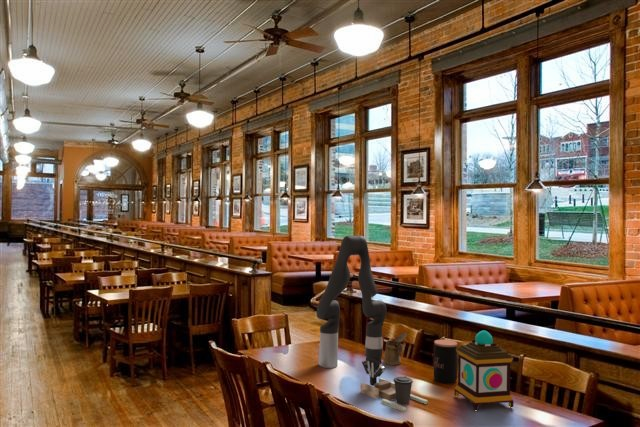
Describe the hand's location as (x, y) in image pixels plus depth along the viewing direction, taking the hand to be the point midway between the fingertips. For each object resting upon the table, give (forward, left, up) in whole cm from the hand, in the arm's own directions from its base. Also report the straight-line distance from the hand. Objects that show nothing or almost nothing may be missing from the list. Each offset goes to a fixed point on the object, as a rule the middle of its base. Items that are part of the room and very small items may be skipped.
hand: (373, 385), depth 222 cm
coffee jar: (+11, +37, -2) cm, 38 cm away
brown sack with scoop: (-21, +37, -2) cm, 43 cm away
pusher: (+9, 0, -2) cm, 9 cm away
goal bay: (+19, 0, -2) cm, 19 cm away
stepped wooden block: (+4, 0, -2) cm, 4 cm away
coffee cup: (+18, 0, -2) cm, 18 cm away
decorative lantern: (+38, +27, -3) cm, 46 cm away
